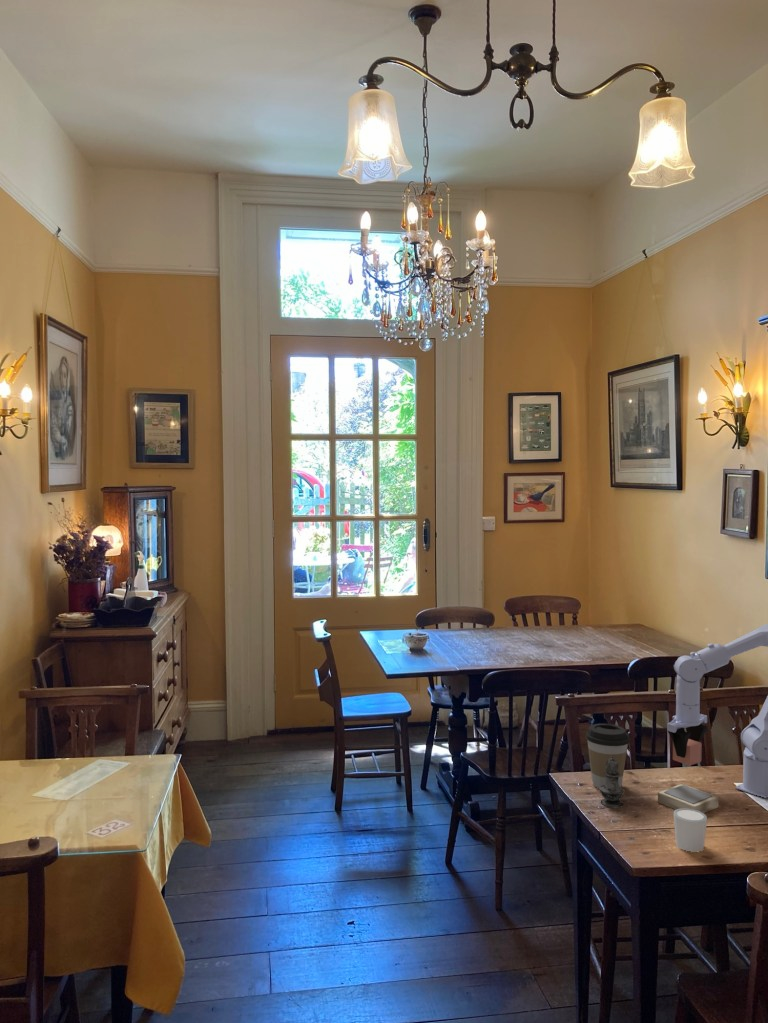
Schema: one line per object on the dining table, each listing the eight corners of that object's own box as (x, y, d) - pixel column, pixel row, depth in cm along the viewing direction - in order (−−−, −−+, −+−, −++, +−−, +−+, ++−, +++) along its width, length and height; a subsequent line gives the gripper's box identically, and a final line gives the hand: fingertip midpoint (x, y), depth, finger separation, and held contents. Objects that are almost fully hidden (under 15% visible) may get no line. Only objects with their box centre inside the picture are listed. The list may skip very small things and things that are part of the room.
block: (684, 756, 198) (684, 737, 198) (701, 761, 194) (701, 742, 194) (672, 759, 195) (672, 740, 195) (689, 765, 191) (690, 746, 191)
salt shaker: (625, 809, 180) (626, 760, 180) (600, 807, 182) (601, 758, 181) (622, 799, 186) (623, 752, 186) (598, 797, 187) (598, 750, 187)
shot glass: (703, 857, 157) (704, 824, 157) (669, 848, 161) (670, 816, 160) (709, 844, 163) (709, 812, 163) (676, 836, 167) (676, 805, 166)
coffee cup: (632, 781, 198) (632, 725, 197) (626, 797, 187) (627, 738, 187) (588, 774, 203) (588, 719, 202) (580, 789, 192) (581, 732, 192)
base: (681, 793, 190) (682, 782, 190) (718, 807, 182) (718, 796, 182) (657, 802, 185) (657, 791, 184) (694, 817, 176) (694, 805, 176)
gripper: (690, 695, 201) (689, 744, 202) (657, 703, 193) (656, 755, 194) (714, 701, 196) (714, 752, 196) (681, 710, 187) (680, 763, 188)
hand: (687, 754), depth 194 cm, fingers closed on block, 5 cm apart
